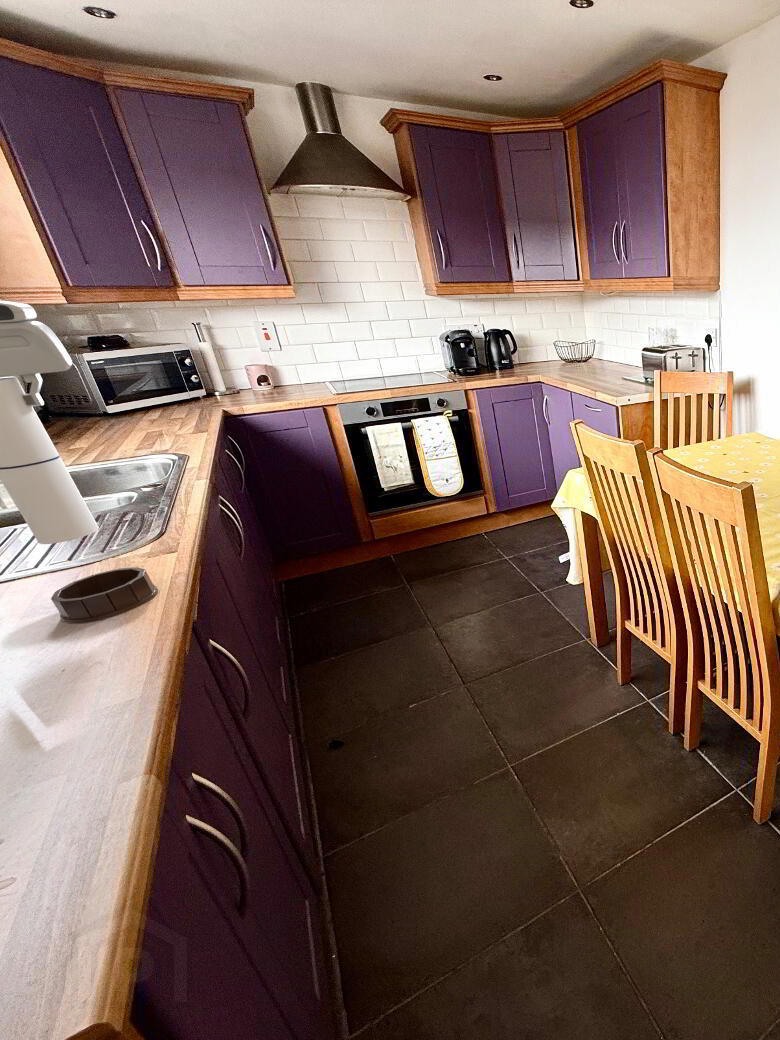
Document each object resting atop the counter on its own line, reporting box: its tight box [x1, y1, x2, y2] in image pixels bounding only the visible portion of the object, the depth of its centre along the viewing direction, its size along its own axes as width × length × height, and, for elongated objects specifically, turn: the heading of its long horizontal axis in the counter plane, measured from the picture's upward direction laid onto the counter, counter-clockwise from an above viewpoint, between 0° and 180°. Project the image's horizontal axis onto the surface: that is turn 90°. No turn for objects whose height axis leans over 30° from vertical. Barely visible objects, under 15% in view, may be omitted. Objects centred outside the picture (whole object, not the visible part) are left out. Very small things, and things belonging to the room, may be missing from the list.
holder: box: [50, 566, 159, 624], centre depth 101 cm, size 12×12×4 cm
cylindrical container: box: [0, 376, 100, 545], centre depth 91 cm, size 7×7×25 cm
